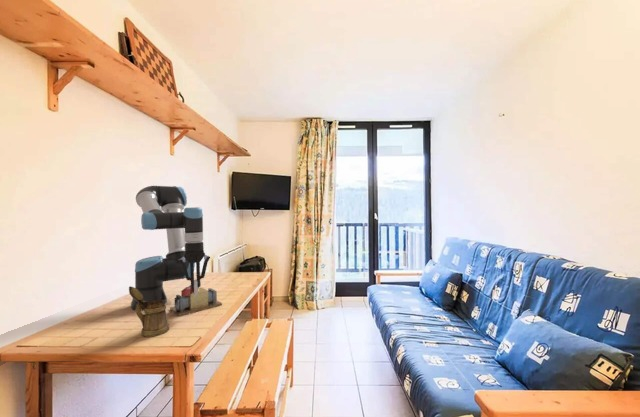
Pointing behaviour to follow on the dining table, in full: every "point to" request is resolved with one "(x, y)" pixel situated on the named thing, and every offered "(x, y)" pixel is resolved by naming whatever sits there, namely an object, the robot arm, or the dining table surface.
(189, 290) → the lever
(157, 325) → the wooden mug
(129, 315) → the dining table surface
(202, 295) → the valve body
